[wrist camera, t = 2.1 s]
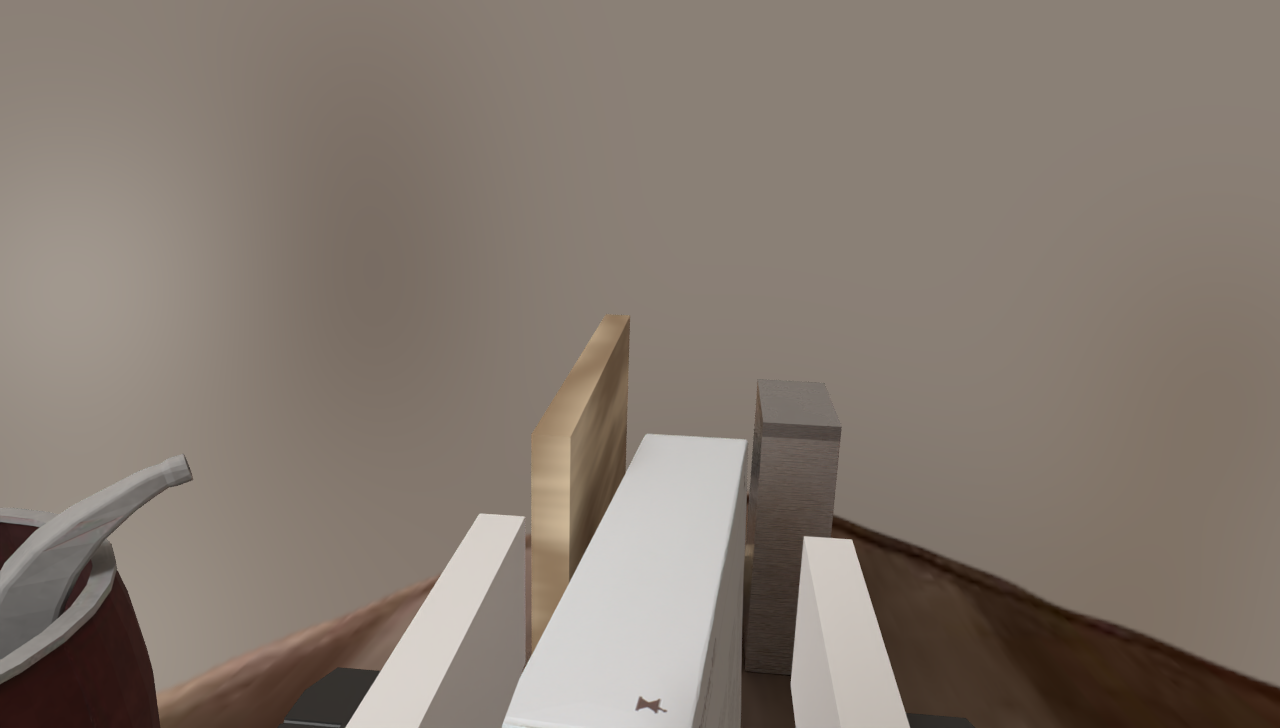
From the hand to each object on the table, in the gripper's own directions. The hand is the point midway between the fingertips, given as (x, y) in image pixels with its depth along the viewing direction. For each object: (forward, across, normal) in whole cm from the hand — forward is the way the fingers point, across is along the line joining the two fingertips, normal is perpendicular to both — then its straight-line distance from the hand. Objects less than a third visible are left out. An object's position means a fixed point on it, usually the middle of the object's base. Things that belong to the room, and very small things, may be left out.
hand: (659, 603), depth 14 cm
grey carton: (+35, +6, -22) cm, 41 cm away
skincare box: (+15, 0, -22) cm, 27 cm away
